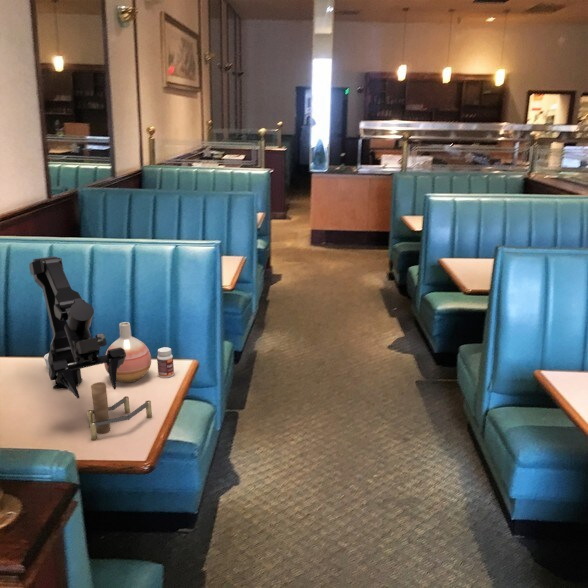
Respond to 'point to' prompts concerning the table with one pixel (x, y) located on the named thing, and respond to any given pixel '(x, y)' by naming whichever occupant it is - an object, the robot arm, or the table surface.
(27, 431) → the table surface
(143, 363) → the vase
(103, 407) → the walnut peg
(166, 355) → the pill bottle
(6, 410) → the table surface
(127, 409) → the wire course
